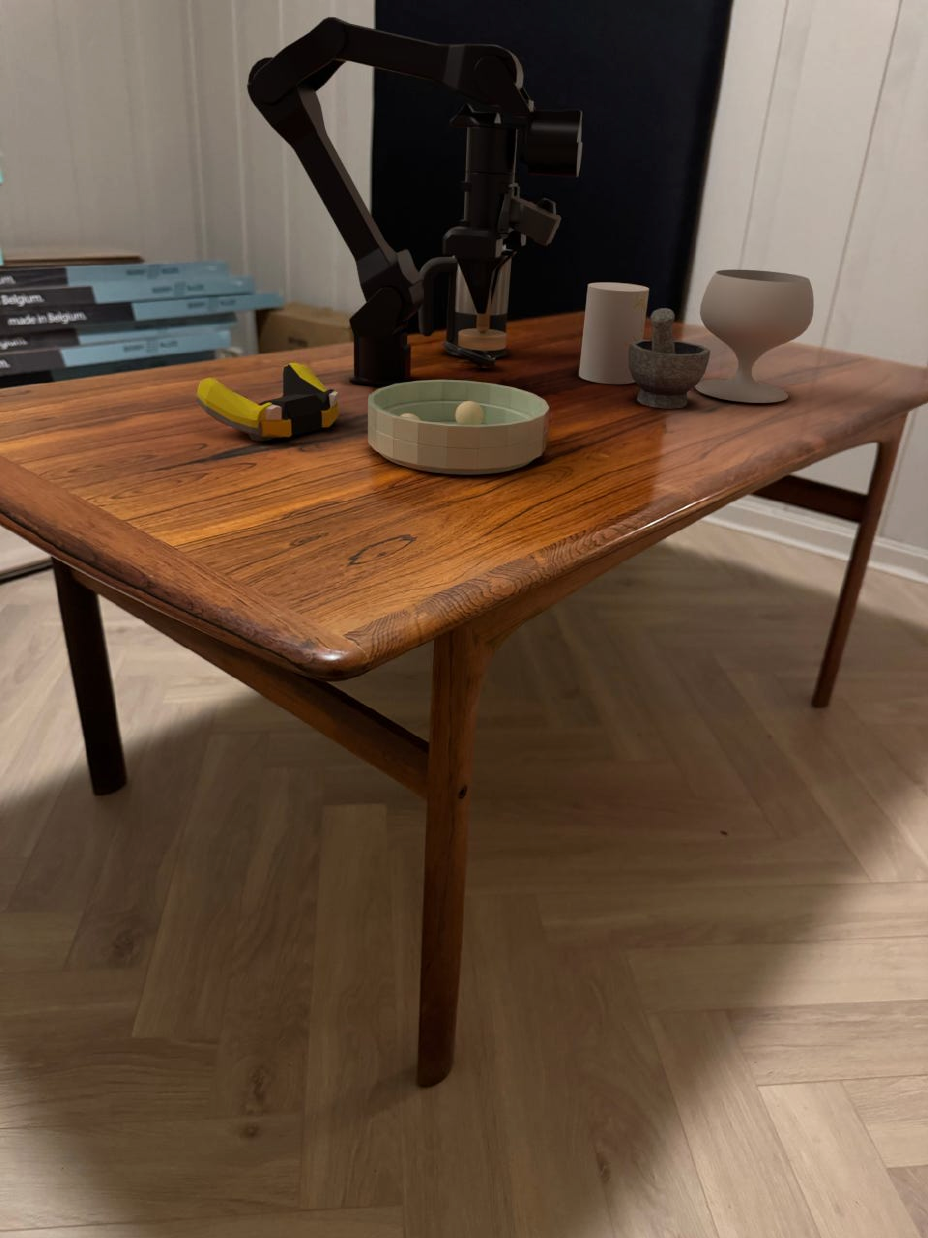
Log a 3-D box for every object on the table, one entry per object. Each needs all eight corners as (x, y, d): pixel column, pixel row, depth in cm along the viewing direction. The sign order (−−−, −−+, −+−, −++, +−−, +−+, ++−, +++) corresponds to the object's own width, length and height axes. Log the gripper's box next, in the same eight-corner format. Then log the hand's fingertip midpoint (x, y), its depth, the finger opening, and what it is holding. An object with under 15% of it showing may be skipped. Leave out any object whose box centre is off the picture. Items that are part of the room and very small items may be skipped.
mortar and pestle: (639, 389, 123) (651, 295, 117) (708, 400, 119) (724, 303, 114) (609, 406, 114) (621, 305, 109) (683, 419, 110) (699, 315, 105)
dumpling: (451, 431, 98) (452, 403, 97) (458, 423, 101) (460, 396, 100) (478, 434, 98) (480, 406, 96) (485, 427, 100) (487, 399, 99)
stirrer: (452, 347, 114) (455, 258, 109) (464, 339, 119) (468, 253, 114) (499, 352, 113) (505, 261, 108) (510, 343, 118) (515, 257, 113)
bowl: (342, 463, 89) (341, 412, 87) (400, 417, 105) (400, 373, 103) (525, 487, 86) (529, 435, 83) (557, 435, 101) (561, 390, 99)
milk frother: (486, 345, 145) (492, 244, 138) (545, 366, 133) (554, 256, 126) (406, 351, 138) (408, 245, 131) (460, 374, 126) (465, 258, 119)
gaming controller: (191, 430, 97) (254, 451, 91) (186, 378, 94) (251, 396, 89) (298, 406, 107) (359, 423, 102) (296, 358, 105) (359, 373, 100)
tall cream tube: (636, 386, 124) (648, 293, 119) (576, 380, 126) (585, 288, 120) (638, 373, 132) (649, 285, 126) (581, 368, 133) (590, 280, 127)
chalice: (676, 396, 120) (694, 275, 113) (699, 376, 131) (718, 265, 125) (786, 413, 115) (812, 287, 108) (801, 391, 126) (826, 275, 119)
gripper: (544, 178, 97) (533, 330, 104) (570, 174, 113) (559, 307, 121) (443, 172, 100) (438, 322, 107) (483, 170, 116) (477, 300, 123)
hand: (483, 312), depth 114 cm, fingers closed on stirrer
